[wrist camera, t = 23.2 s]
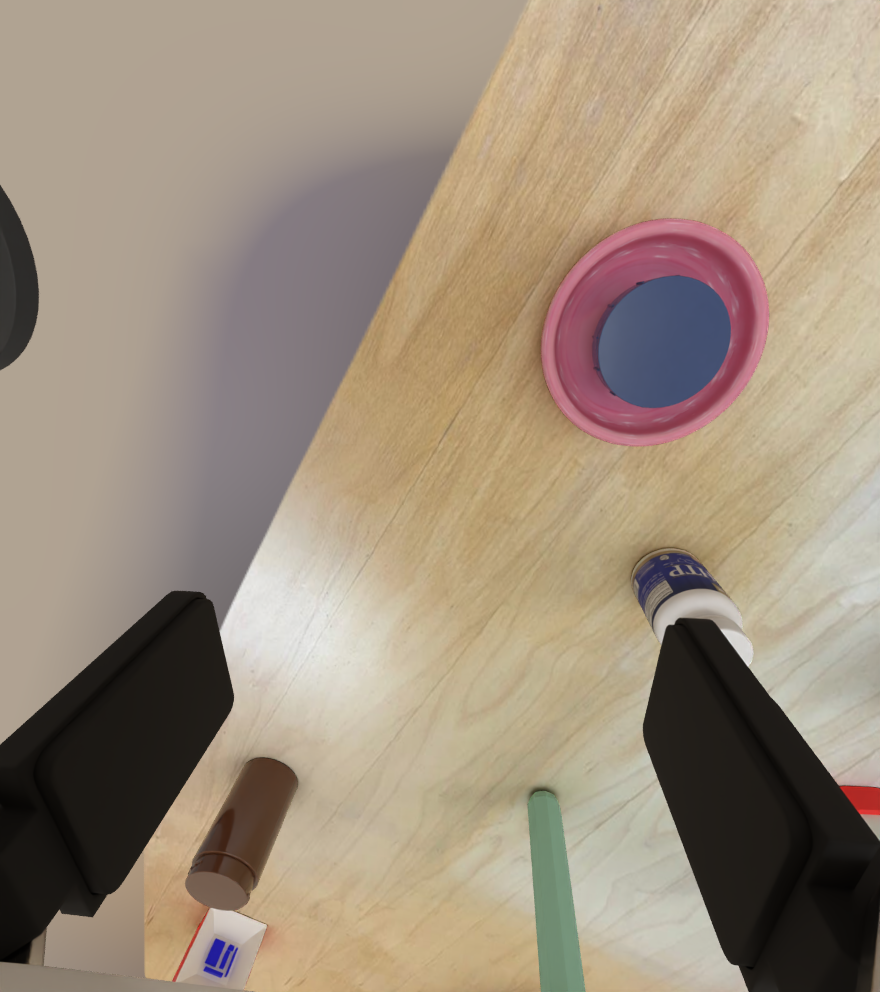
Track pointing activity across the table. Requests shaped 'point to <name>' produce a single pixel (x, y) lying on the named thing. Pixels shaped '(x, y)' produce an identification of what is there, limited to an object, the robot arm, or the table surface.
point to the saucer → (613, 272)
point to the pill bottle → (686, 596)
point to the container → (553, 898)
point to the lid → (661, 341)
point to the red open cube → (221, 950)
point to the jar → (242, 835)
